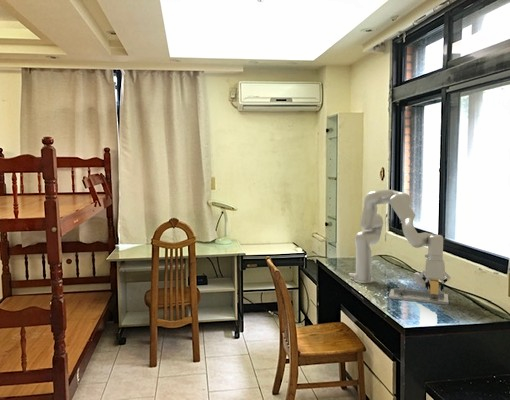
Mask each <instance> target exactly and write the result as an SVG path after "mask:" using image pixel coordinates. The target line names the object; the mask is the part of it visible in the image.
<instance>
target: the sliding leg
mask: <svg viewBox="0 0 510 400" xmlns="http://www.w3.org/2000/svg"><path fill="white" fill-rule="evenodd" d="M430 280H431V282H430V294H433V298H435V294H436V295H438V292H439V282H440V281H439V280H440V279H430Z"/></svg>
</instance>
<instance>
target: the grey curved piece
mask: <svg viewBox="0 0 510 400" xmlns="http://www.w3.org/2000/svg"><path fill="white" fill-rule="evenodd" d="M422 272H423V271H422V270H420V271H417V272H414V273H413V276H414V278H415V279H414V280H415V281H416V284H417V285H418V286H421V288H423V289H424V290H425V291H430V282H431V279H430V278H429V280H428V290H427V288H425V281H424V280H423V279H422V278H421V277H420V276H419V274H420V273H422ZM423 276H424V277H425V274H423ZM425 278H426V277H425Z"/></svg>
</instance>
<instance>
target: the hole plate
mask: <svg viewBox="0 0 510 400" xmlns="http://www.w3.org/2000/svg"><path fill="white" fill-rule="evenodd" d="M388 299H392V300H400V301H410V302H411V301H412V302H419V303H429V304H438V305H448V306H449V304H450V303H449V295H448V293H444V297H437V296H435V298H433V296H427V295H417V294H407V293H404V294H403V295H400V294H399V293H397V292H394V288H391V289H390V292H389V295H388Z"/></svg>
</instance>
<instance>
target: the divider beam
mask: <svg viewBox="0 0 510 400" xmlns="http://www.w3.org/2000/svg"><path fill="white" fill-rule="evenodd" d="M393 289H394V292H397V293H399V294H400V295H403V294H404V293H407V294H417V295H427V296H433V294H430V291H427V290H420V289H410V288H409V289H408V288H405V285H403V286H402V285H399V287H394V288H393ZM444 294H445V292H442V291H438V295H436V294H435V296H437V297H444Z"/></svg>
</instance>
